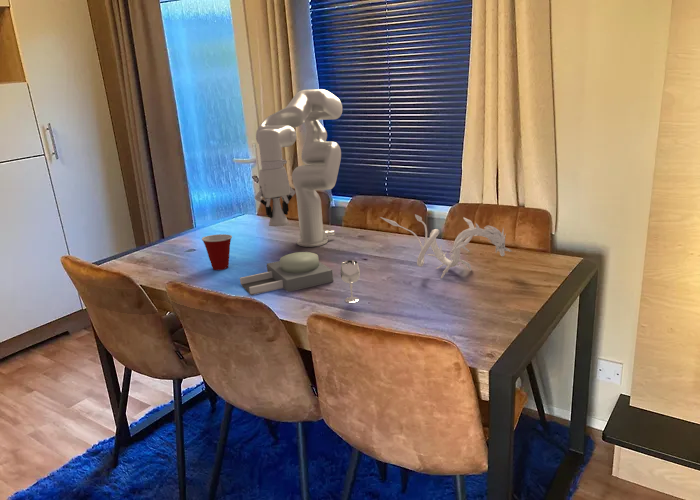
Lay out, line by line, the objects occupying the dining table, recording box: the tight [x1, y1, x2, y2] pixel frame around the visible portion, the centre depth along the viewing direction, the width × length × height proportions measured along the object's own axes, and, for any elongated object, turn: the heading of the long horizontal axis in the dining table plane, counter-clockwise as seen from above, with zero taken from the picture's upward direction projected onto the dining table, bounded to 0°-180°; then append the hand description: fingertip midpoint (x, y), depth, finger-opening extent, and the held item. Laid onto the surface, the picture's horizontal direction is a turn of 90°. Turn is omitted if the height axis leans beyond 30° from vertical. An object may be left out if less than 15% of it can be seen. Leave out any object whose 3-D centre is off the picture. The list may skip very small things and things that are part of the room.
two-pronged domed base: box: [239, 251, 334, 296], centre depth 194 cm, size 27×20×7 cm
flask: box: [268, 197, 289, 227], centre depth 206 cm, size 7×7×10 cm
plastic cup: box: [201, 233, 233, 271], centre depth 211 cm, size 11×11×12 cm
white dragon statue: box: [379, 213, 513, 279], centre depth 188 cm, size 43×20×25 cm, turn 65°
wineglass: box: [340, 259, 361, 304], centre depth 174 cm, size 6×6×12 cm
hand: (277, 214), depth 207 cm, fingers closed on flask, 5 cm apart
